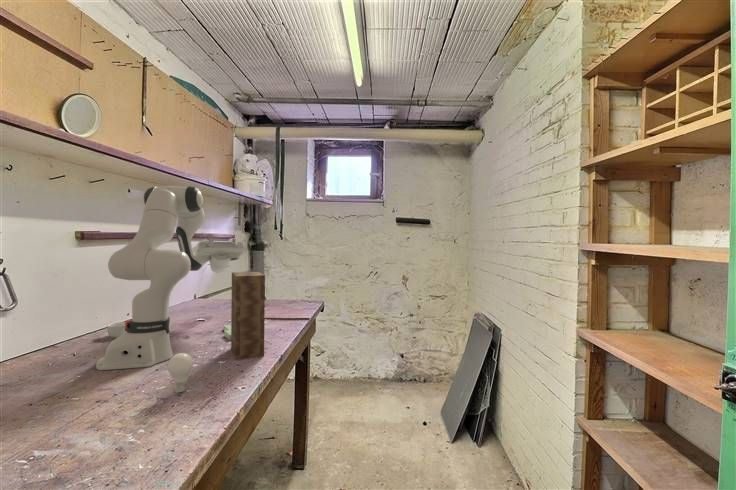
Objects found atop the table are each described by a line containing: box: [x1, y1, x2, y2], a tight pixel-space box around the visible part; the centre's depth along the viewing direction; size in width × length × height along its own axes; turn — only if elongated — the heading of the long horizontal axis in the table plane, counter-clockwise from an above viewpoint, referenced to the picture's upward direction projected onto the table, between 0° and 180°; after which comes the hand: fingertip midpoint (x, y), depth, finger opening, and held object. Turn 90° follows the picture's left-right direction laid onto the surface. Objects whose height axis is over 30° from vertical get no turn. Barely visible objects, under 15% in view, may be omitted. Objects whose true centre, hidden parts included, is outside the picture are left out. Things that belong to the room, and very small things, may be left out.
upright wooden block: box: [230, 271, 266, 361], centre depth 134 cm, size 10×14×30 cm
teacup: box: [106, 321, 126, 339], centre depth 152 cm, size 10×8×5 cm
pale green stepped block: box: [223, 324, 231, 341], centre depth 159 cm, size 8×19×2 cm, turn 37°
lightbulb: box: [166, 352, 194, 394], centre depth 99 cm, size 6×6×11 cm
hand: (223, 239), depth 161 cm, fingers open, 8 cm apart
